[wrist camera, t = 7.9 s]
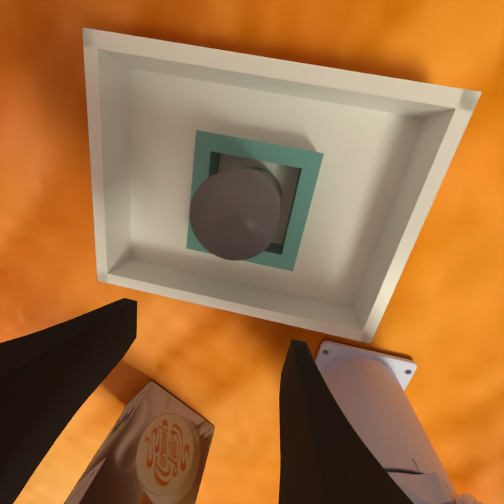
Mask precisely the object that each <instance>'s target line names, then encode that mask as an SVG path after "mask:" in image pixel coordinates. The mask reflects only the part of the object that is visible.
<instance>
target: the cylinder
mask: <svg viewBox="0 0 504 504" xmlns="http://www.w3.org/2000/svg"><path fill="white" fill-rule="evenodd" d="M281 202H282V190H281V187H280V184H279V182H278V181H277V179H276V178H275V176H273V175H272V174H271V173H270V172H269V171H267V170H265V169H262V168H258V167H249V168H243V169H238V170H232V171H226V172H221V173H218V174H215V175H213V176H211V177H209V178H208V179H206V180H205V181H204V182H203V183H202V184H201V185H200V186H199V187H198V188H197V190H196V191H195V193H194V195H193V197H192V200H191V204H190V210H189V217H190V223H191V227H192V230H193V232H194V234H195V236H196V238H197V240H198V241H199V242H200V244H201V245H202V246H203V247H204V248H205V249H206V250H208V251H209V252H210V253H212V254H213V255H215V256H217V257H220V258H222V259H226V260H232V261H241V260H246V259H250V258H253V257H255V256H257V255H259V254H260V253H262V252H263V251H264V250H265V249H266V248H267V247H268V246H269V245H270V243H271V242H272V240H273V238H274V236H275V234H276V231H277V227H278V221H279V215H280V209H281Z"/></svg>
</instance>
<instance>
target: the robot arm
mask: <svg viewBox="0 0 504 504" xmlns="http://www.w3.org/2000/svg"><path fill="white" fill-rule="evenodd" d="M136 332H137V301H134V300H130V299H126V298H124V299H121V300H118V301H115V302H113V303H110V304H108V305H106V306H103V307H101V308H98V309H96V310H93V311H91V312H88V313H86V314H84V315H81V316H79V317H76V318H74V319H71V320H68V321H66V322H63V323H60V324H58V325H55V326H52V327H50V328H47V329H44V330H41V331H38V332H35V333H32V334H29V335H26V336H23V337H19V338H16V339H13V340H9V341H6V342H2V343H0V504H13V503H14V501H15V500H16V498H17V497H18V495H19V494H20V492H21V491H22V489H23V488H24V486H25V485H26V483H27V482H28V480H29V479H30V477H31V476H32V474H33V473H34V471H35V470H36V468H37V467H38V465H39V464H40V462H41V461H42V459H43V458H44V457H45V455H46V454H47V452H48V451H49V449H50V448H51V446H52V445H53V444H54V442H55V441H56V439H57V438H58V436H59V435H60V434H61V432H62V431H63V430H64V428H65V427H66V425H67V424H68V423H69V421H70V420H71V419H72V417H73V416H74V414H75V413H76V412H77V411H78V409H79V408H80V407H81V406H82V404H83V403H84V402H85V401H86V400H87V399H88V397H89V396H90V395H91V394H92V393H93V392H94V390H95V389H96V388H97V387H98V386H99V385H100V383H101V382H102V381H103V380H104V379H105V378H106V377H107V375H108V374H109V373H110V372H111V371H112V369H113V368H114V367H115V366H116V365H117V364H118V362H119V361H120V360H121V359H122V358H123V356H124V355H125V353H126V352H127V351H128V349H129V348H130V346H131V344H132V343H133V341H134V340H135V338H136ZM324 350H327V351H326V352H324ZM416 369H417V365H416V363H415V362H414V361H413V360H409V359H405V358H401V357H397V356H392V355H388V354H384V353H379V352H375V351H371V350H366V349H362V348H358V347H353V346H349V345H345V344H341V343H336V342H332V341H323V342H322V343H321V345H320V348H319V351H318V354H317V357H316V360H315V361H314V359H313V357H312V355H311V352H310V350H309V348H308V346H307V344H306V342H302V341H298V340H294V339H292V340H291V344H290V347H289V350H288V353H287V357H286V360H285V363H284V366H283V370H282V373H281V383H280V395H279V409H280V452H281V468H280V489H279V504H483V503H481V502H479V501H477V500H476V499H475V498H474V497H473V496H471V495H470V494H462V495H460V496H458V494H457V493H456V491H455V489H454V487H453V485H452V483H451V481H450V479H449V478H448V476H447V474H446V472H445V470H444V468H443V466H442V464H441V462H440V460H439V458H438V456H437V454H436V452H435V450H434V448H433V446H432V445H431V443H430V441H429V439H428V437H427V435H426V433H425V431H424V429H423V427H422V425H421V423H420V421H419V419H418V417H417V415H416V414H415V412H414V410H413V408H412V406H411V404H410V402H409V400H408V398H407V396H406V394H405V392H404V390H405V388H406V387H407V385H408V383H409V381H410V379H411V378H412V376H413V374H414V372H415V370H416ZM406 370H407V371H406Z"/></svg>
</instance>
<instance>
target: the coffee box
mask: <svg viewBox="0 0 504 504" xmlns="http://www.w3.org/2000/svg"><path fill="white" fill-rule="evenodd" d="M214 429H215V427H214V426H213V425H212V424H210V423H209V422H207V421H206V420H205V419H203V418H202V417H201V416H199V415H198V414H197V413H195V412H194V411H192V410H191V409H190V408H188V407H187V406H186V405H184V404H183V403H182V402H180V401H179V400H177V399H176V398H175V397H173V396H172V395H171V394H169V393H168V392H167V391H165V390H164V389H162V388H161V387H160V386H158V385H157V384H156V383H155V382H153V381H151V382H149V383H148V384H147V385H146V386H145V387H144V388H143V389H142V390H141V391H140V392H139V393H138V394H137V395H136V396H135V397H134V398H133V399H132V400H131V401H130V402H129V403H128V404H127V405H126V406H125V408H124V410H123V412H122V414H121V415H120V417H119V419H118V420H117V422H116V424H115V425H114V427H113V428H112V430H111V431H110V433H109V434H108V436H107V438H106V439H105V441H104V442H103V444H102V445H101V447H100V448H99V450H98V451H97V453H96V454H95V456H94V457H93V459H92V461H91V462H90V464H89V465H88V467H87V468H86V470H85V472H84V473H83V475H82V476H81V478H80V479H79V481H78V482H77V484H76V486H75V487H74V489H73V490H72V492H71V493H70V495H69V497H68V498H67V500H66V501H65V503H64V504H195V502H196V499H197V495H198V491H199V487H200V483H201V480H202V476H203V472H204V468H205V464H206V460H207V456H208V452H209V448H210V445H211V441H212V437H213V433H214Z"/></svg>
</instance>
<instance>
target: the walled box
mask: <svg viewBox="0 0 504 504" xmlns="http://www.w3.org/2000/svg"><path fill="white" fill-rule="evenodd" d="M82 33H83V50H84V66H85V83H86V99H87V116H88V132H89V149H90V165H91V182H92V198H93V215H94V231H95V248H96V264H97V281H100V282H105V283H109V284H113V285H118V286H122V287H126V288H131V289H135V290H139V291H144V292H148V293H152V294H157V295H161V296H165V297H170V298H174V299H178V300H183V301H187V302H191V303H196V304H200V305H204V306H209V307H213V308H217V309H222V310H226V311H230V312H235V313H239V314H243V315H248V316H252V317H256V318H261V319H265V320H269V321H274V322H278V323H282V324H287V325H291V326H295V327H300V328H304V329H308V330H313V331H317V332H321V333H326V334H330V335H334V336H339V337H343V338H347V339H352V340H356V341H360V342H365V343H369V344H370V343H371V341H372V339H373V337H374V334H375V332H376V330H377V328H378V325H379V323H380V321H381V319H382V316H383V314H384V312H385V309H386V307H387V305H388V303H389V300H390V298H391V296H392V294H393V291H394V289H395V287H396V285H397V282H398V280H399V278H400V276H401V273H402V271H403V269H404V267H405V264H406V262H407V260H408V257H409V255H410V253H411V251H412V248H413V246H414V244H415V242H416V239H417V237H418V235H419V233H420V230H421V228H422V226H423V224H424V221H425V219H426V217H427V215H428V212H429V210H430V208H431V206H432V203H433V201H434V199H435V196H436V194H437V192H438V190H439V187H440V185H441V183H442V181H443V178H444V176H445V174H446V172H447V169H448V167H449V165H450V163H451V160H452V158H453V156H454V154H455V151H456V149H457V147H458V145H459V142H460V140H461V138H462V135H463V133H464V131H465V129H466V126H467V124H468V122H469V120H470V117H471V115H472V113H473V111H474V108H475V106H476V104H477V102H478V99H479V97H480V95H481V93H482V92H478V91H472V90H466V89H460V88H454V87H447V86H441V85H435V84H429V83H423V82H417V81H410V80H404V79H398V78H392V77H386V76H379V75H373V74H367V73H361V72H355V71H349V70H342V69H336V68H330V67H324V66H318V65H311V64H305V63H299V62H293V61H287V60H281V59H274V58H268V57H262V56H256V55H250V54H244V53H237V52H231V51H225V50H219V49H213V48H206V47H200V46H194V45H188V44H182V43H176V42H169V41H163V40H157V39H151V38H145V37H138V36H132V35H126V34H120V33H114V32H108V31H101V30H95V29H89V28H83V27H82ZM249 167H258V168H262V169H265V170H267V171H269V172H270V173H271V174H272V175H273V176H275V178H276V179H277V181H278V182H279V184H280V187H281V190H282V202H281V209H280V215H279V221H278V227H277V231H276V234H275V236H274V238H273V240H272V242H271V243H270V245H269V246H268V247H267V248H266V249H265V250H264V251H263V252H262V253H260V254H259V255H257V256H255V257H253V258H250V259H246V260H241V261H232V260H226V259H222V258H220V257H217V256H215V255H213V254H212V253H210V252H209V251H208V250H206V249H205V248H204V247H203V246H202V245H201V244H200V242H199V241H198V240H197V238H196V236H195V234H194V232H193V230H192V227H191V223H190V217H189V210H190V204H191V200H192V197H193V195H194V193H195V191H196V190H197V188H198V187H199V186H200V185H201V184H202V183H203V182H204V181H205V180H206V179H208V178H209V177H211V176H213V175H215V174H218V173H221V172H226V171H232V170H238V169H243V168H249Z"/></svg>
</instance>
